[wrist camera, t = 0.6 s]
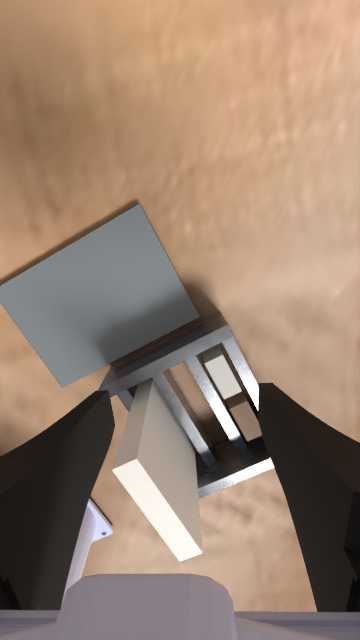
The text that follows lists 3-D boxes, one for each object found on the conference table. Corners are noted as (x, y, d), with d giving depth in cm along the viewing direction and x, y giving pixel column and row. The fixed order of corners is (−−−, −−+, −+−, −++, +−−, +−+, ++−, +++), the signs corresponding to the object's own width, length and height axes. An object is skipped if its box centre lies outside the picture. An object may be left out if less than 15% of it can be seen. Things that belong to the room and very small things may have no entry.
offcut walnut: (239, 419, 25) (247, 441, 22) (223, 390, 24) (229, 409, 22) (254, 412, 25) (264, 433, 22) (238, 382, 24) (247, 400, 21)
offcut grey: (218, 381, 24) (224, 399, 21) (201, 349, 23) (204, 363, 21) (234, 374, 24) (242, 391, 21) (217, 341, 23) (222, 354, 20)
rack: (179, 469, 27) (179, 507, 23) (111, 366, 24) (98, 389, 20) (278, 426, 25) (295, 458, 22) (219, 311, 22) (228, 324, 19)
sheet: (179, 445, 26) (179, 561, 16) (138, 381, 24) (111, 469, 15) (194, 439, 26) (202, 552, 16) (153, 374, 24) (136, 458, 14)
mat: (64, 385, 24) (62, 387, 24) (-5, 290, 22) (-9, 291, 21) (199, 315, 23) (199, 316, 22) (140, 204, 20) (139, 203, 20)
